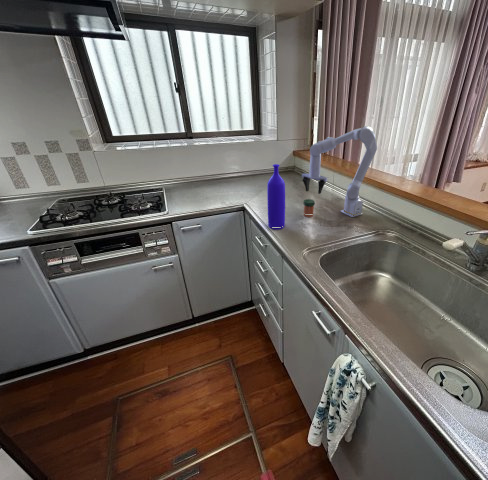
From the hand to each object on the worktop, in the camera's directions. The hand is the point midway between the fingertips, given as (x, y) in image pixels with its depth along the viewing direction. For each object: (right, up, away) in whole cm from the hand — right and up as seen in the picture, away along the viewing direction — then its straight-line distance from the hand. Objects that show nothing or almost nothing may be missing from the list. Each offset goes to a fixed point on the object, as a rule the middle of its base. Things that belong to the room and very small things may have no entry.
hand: (313, 192), depth 147 cm
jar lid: (-3, -6, -8) cm, 10 cm away
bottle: (-20, -20, -16) cm, 33 cm away
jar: (-3, -13, -4) cm, 14 cm away
